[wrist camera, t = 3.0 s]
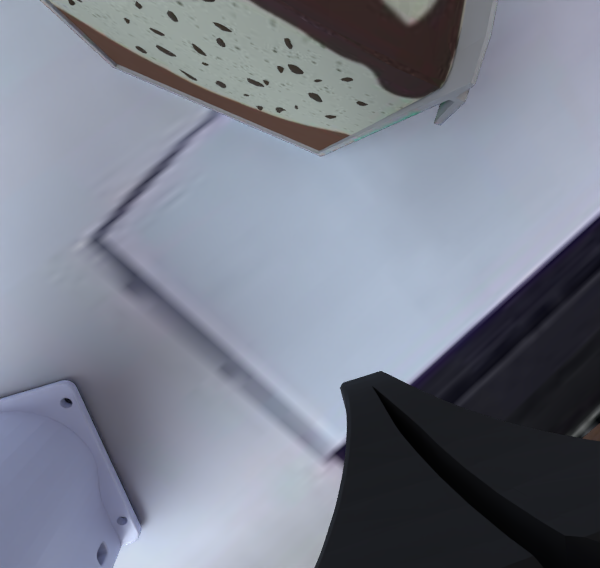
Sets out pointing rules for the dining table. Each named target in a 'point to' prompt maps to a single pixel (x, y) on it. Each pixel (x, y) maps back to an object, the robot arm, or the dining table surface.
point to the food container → (296, 58)
